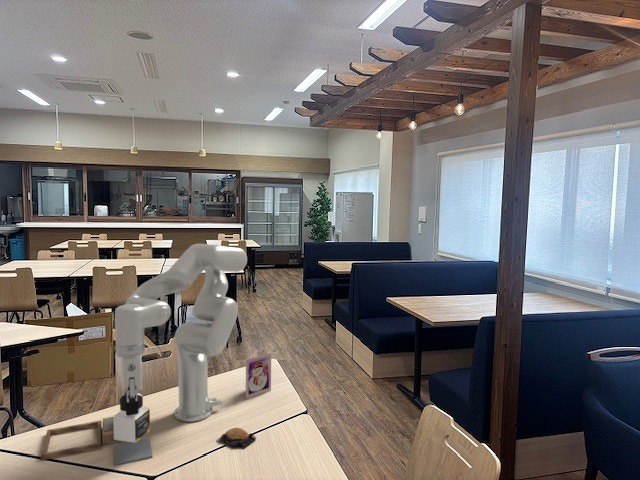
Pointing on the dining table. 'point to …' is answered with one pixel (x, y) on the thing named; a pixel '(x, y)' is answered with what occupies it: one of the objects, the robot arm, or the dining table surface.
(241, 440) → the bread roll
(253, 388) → the greeting card
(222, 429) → the dining table surface
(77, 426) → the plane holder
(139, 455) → the slate mat
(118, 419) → the medicine bottle
